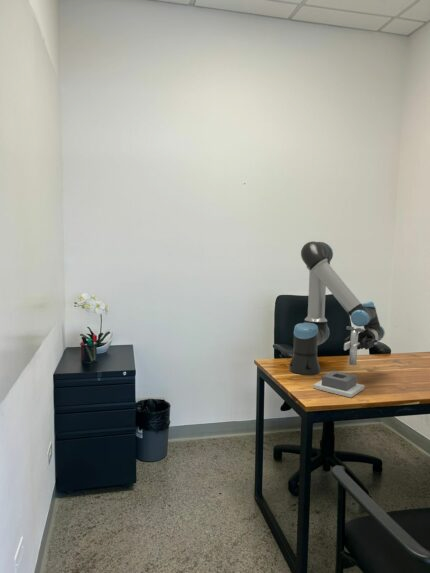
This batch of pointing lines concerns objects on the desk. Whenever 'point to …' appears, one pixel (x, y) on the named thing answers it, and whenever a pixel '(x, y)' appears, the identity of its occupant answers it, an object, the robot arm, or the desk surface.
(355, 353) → the chuck key
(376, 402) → the desk surface
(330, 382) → the chuck block
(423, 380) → the desk surface
